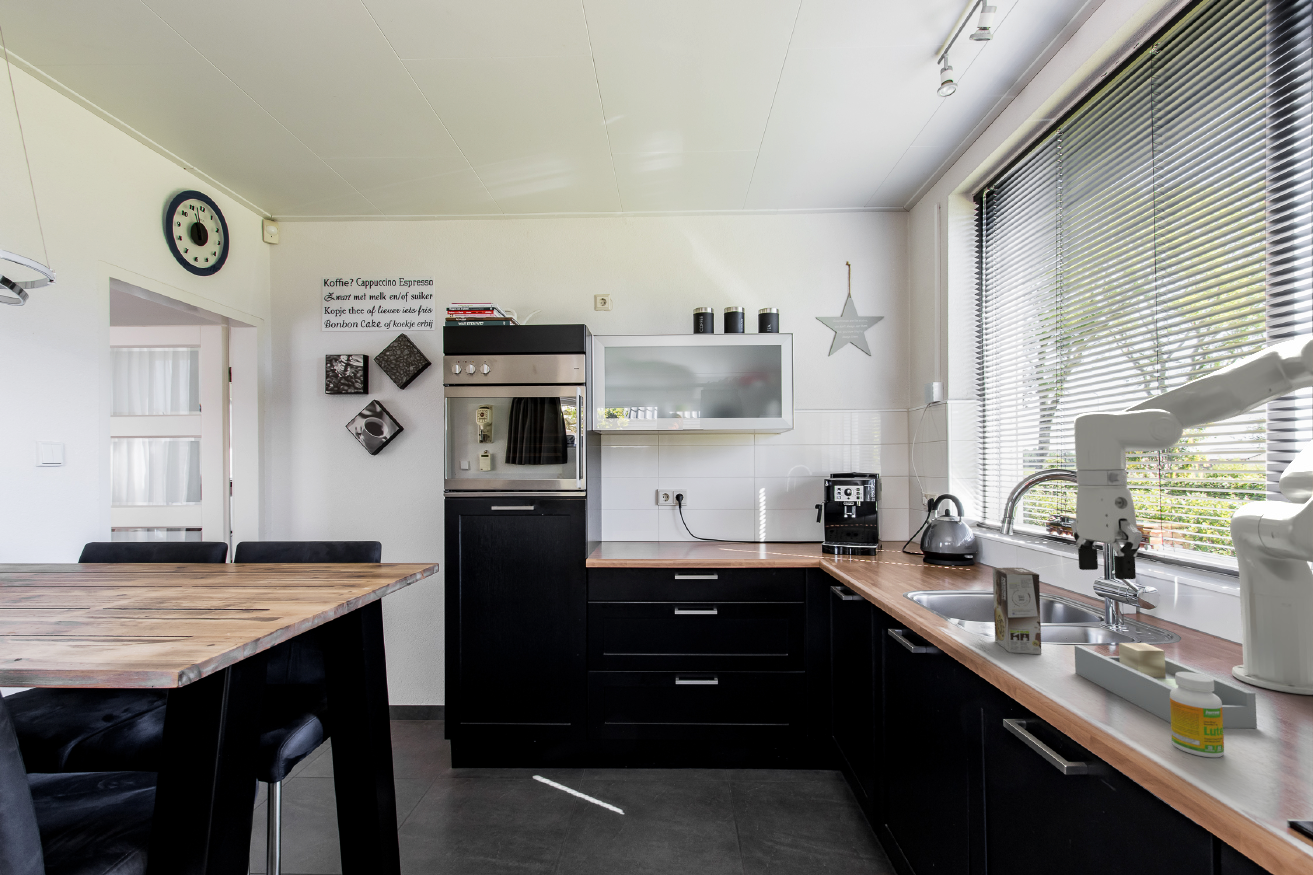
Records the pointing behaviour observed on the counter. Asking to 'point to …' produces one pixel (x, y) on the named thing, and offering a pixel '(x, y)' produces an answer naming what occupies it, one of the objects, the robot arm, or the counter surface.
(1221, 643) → the counter surface
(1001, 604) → the coffee box
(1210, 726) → the supplement bottle
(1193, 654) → the counter surface
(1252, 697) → the box
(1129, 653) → the block
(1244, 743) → the counter surface
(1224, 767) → the counter surface
